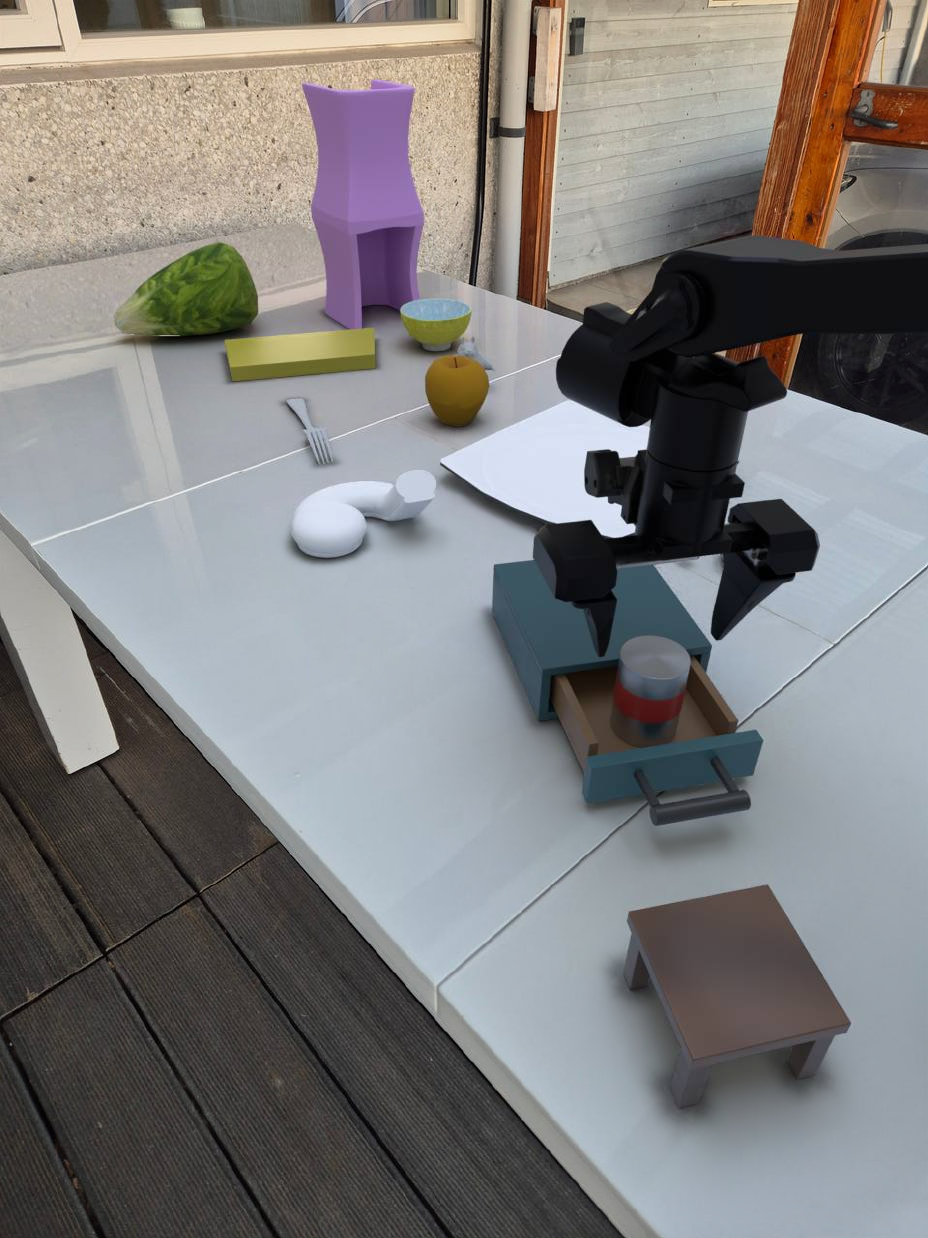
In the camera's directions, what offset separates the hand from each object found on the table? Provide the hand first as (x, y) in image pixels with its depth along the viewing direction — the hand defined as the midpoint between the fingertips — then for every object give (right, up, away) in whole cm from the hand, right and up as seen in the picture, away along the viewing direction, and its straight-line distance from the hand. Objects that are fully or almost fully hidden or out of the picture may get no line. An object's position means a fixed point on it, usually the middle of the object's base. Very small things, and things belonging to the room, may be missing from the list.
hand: (658, 645), depth 66 cm
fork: (-35, +27, +53) cm, 69 cm away
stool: (+1, -22, -13) cm, 25 cm away
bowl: (-19, +46, +79) cm, 94 cm away
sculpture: (-26, +12, +33) cm, 43 cm away
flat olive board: (-39, +42, +74) cm, 94 cm away
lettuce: (-60, +50, +83) cm, 114 cm away
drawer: (0, -8, +5) cm, 9 cm away
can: (0, -6, +5) cm, 8 cm away
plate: (+1, +19, +43) cm, 47 cm away
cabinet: (-3, -1, +16) cm, 16 cm away
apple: (-15, +29, +56) cm, 65 cm away
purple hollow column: (-31, +56, +92) cm, 112 cm away
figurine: (-14, +36, +65) cm, 76 cm away
